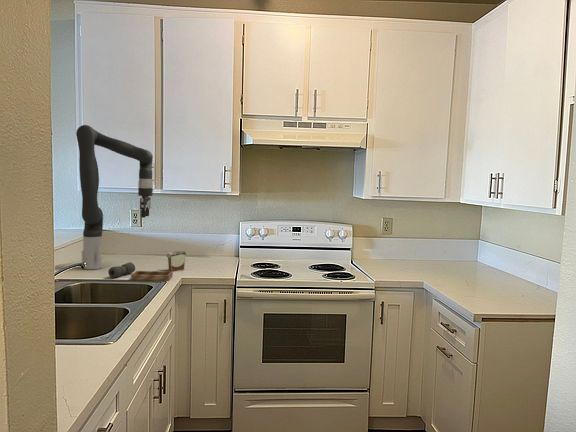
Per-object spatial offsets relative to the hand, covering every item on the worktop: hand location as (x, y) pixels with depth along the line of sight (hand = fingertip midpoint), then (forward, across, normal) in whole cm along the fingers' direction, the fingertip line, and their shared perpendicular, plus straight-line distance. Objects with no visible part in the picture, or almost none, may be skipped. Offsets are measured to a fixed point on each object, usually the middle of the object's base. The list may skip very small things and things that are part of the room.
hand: (145, 216), depth 258 cm
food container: (+28, +6, +17) cm, 34 cm away
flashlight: (+30, +28, -8) cm, 42 cm away
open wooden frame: (+28, +27, +10) cm, 40 cm away
